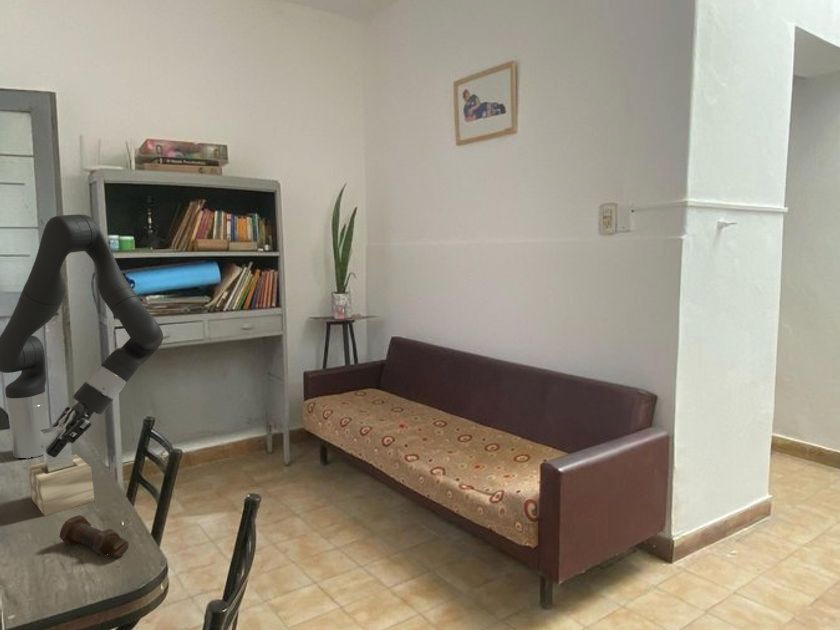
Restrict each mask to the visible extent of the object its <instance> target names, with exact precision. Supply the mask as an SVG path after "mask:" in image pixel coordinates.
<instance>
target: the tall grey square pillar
mask: <svg viewBox="0 0 840 630" xmlns="http://www.w3.org/2000/svg"><path fill="white" fill-rule="evenodd" d="M63 426H64V425H61V426H57V427H53V426H51V427H50V428H48V429H43V430H40V433H41V440H42V448H43V455H42V456H43V461H44V462H43V463H45V470H46V474H48V473H52V472H56V471H60V470H64V469H68V468H72V467H74V464H73V456H72V455H73V451H72V443H69V444H66V446H65V447H64V448H63V449H62V450H61V452H60V453H59V454H58V455H57V456H56V457H52V456H50V455H48V454H47V450H48V449H49V448H50V447H51V446H52V444H53V443H54V442H55V441H56V440H57V438H59V436H60V434H61V433H62V432H63V430H64V429H63Z"/></svg>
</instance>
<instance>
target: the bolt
mask: <svg viewBox="0 0 840 630" xmlns="http://www.w3.org/2000/svg"><path fill="white" fill-rule="evenodd" d="M59 538H60V540H61V541H62V542H63V543H65V544H66V545H67V546H71V547H72V546H73V545H75V544H77V543H81V544H83V545H87V546H88V547H91V548H92V549H93V551H94V552H95V553H96V554H97V555H99V556H101V557H105V555H106V556H108V555H112V556H114V557H116V558H117V557H121V556H123V555H124V554H125V553H126V552H127V550H128V548H129V541H128V540H127V539H126V538H123V537H121V536H120V535H119V533H118V532H117V531H116V530H115V529H112V528H107V529H104V530H101V529H98V528H95V527H92V524H91V523H90V522H89V521H88V520H87V519H86V517H84V515H81V514H79V515H76V516H72V517H70V518H69V519H67V520H66V521H64V523H63V525H62V526H61V529H60V530H59ZM107 554H108V555H107Z"/></svg>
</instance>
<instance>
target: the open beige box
mask: <svg viewBox="0 0 840 630" xmlns="http://www.w3.org/2000/svg"><path fill="white" fill-rule="evenodd" d="M72 456H73V464H74V467H72V468H68V469H64V470H60V471H56V472H52V473H48V474H46V470H45V463H44V462H41V463H36V464H35V463H34V464H32V465H28V476H29V485H30V492H31V500H32V501H33V502H34V504H35V505H36V506H37V508H38V509H39V510H40V511H41V513H42V515H43V516H44V517H46V516H49V515H53V514H56V513H59V512H62V511H65V510H69V509H72V508H75V507H78V506H79V507H80V506H81V505H86V504H89V503H92V502H95V492H94V491H95V490H94V484H93V483H94V481H93V471H92V467H91V466H90V465H89V464H88V463H87V462H86V461H85V460H83V459H82V458H81V457H80V456H79V455H78V454H72Z"/></svg>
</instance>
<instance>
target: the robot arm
mask: <svg viewBox="0 0 840 630" xmlns="http://www.w3.org/2000/svg"><path fill="white" fill-rule="evenodd" d="M78 252H79V253H80V252H85V253H86V254H87V255H88V256H89V257H90V259H91V260H92V261H93V264H94V265H95V268H96V275H97V277H96V279H97V280H96V281H97V287H98V288H97V289H98V292H99V294H100V296H101V298H102V301H104V303H105V304H106V306H107V307H108V309H109V310H110V312H111V313H112V315H114V317H115V318H116V319H118V320H119V322H120V323H121V325H122V327H123V328H124V330H125V332H126V333H127V335H128V337H129V339H127V341H126V342H125V343H124V344H123V345H122V346H121V347H119V348H117V349H115V350H113V351H112V352H111V353H110V355H108V357H106V359H105V360H104V362H102V363H101V365H100V366H98V368H97V369H96V370H94V371H93V372H92V373H91V374H90V375H89V376H88V377H87V379H86V381H84V382H83V384H82V385H81V386H79V388H78V389H77V391H76V392H75V393H74V394H73V396H72V398H73V400H75V401H77V403H76V404H75V405H73V406H72V407H70V406H66V407H65V409H63V411H62V413H61V414H60V415H59V417H58V418H57V420H56V421H55V423H54V424H53V425H52V427H57V426H61V425H64V426H63V429H64V430H63V432H62V433H61V434H60V436H59V438H57V440H56V441H55V442H54V443H53V444H52V446H51V447H50V448H49V449H48V450H47V454H48V455H50V456H52V457H56V456H57V455H58V454H59V453H60V452H61V450H62V449H63V448H64V447H65V446H66V444H69V443H71V444H73V443H75V442H76V441H78V439H79V438H80V437H81V436H82V435H83V434H84V433H85V432H86V431H87V430H88V429H89V428H90V427H92V425H93V423H92V422H91V421H90V419H91V418H92V415H93V414H94V413H96V414H98V415H102V414H104V412H105V411H106V410H107V408H108V407H109V406H110V405H111V404H112V402H114V400H115V399H116V397H118V395H119V394H120V393H121V391H122V390H123V389H124V387H125V385H126V383H128V381H129V380H130V379H131V378H132V377H133V375H134V374H135V373H136V372H137V370H138V369H139V368H140V367H141V366H142V365H143V364H144V363H145V362H146V361H147V360H149V359H150V357H151V356H152V355H153V354H154V353H155V352H156V351H157V350H158V349H159V348H160V346H161V345H162V344H163V343H162V342H163V340H164V334H163V331H162V328H161V326H160V325H159V323H158V322H157V320H156V319H155V318H154V316H153V315H152V314H151V312H150V311H149V310H148V309H147V308H146V306H144V304H143V302H142V301H141V299H140V297H139V296H138V294H137V293H136V292H135V290H134V289H133V287H132V286H131V284H130V283H129V282H128V280H127V279H126V277H125V275H124V274H123V272H122V271H121V268H120V266H119V265H118V263H117V261H116V258H115V256H114V254H113V252H112V249H111V248H110V246H109V244H108V242H107V240H106V237H105V235H104V234H103V231H102V230H101V228H100V226H99V224H98V223H97V222H96V220H94V218H92V217H91V216H89V215H87V214H62V215H55V216H53V217H51V218H50V219H49V220H48V221H47V222H46V224H45V226H44V229H43V231H42V235H41V238H40V242H39V246H38V249H37V253H36V257H35V260H34V262H33V265H32V267H31V271H30V273H29V276H28V278H27V279H26V282H25V284H24V286H23V288H22V291H21V292H20V296H19V297H18V301H17V303H16V306H15V307H14V310H13V313H12V314H11V317H10V318H9V320H8V322H7V324H6V326H5V328H4V329H3V331H2V332H1V334H0V373H6V374H9V373H12V374H13V373H16V372H21V373H20V374H19V375H18V377H17V378H16V379H15V380H14V381H12V382H10V383H9V384H7V385H6V386H5V390H4V392H5V399H6V400H5V402H6V408H7V414H8V422H9V423H8V424H9V431H10V440H11V448H12V455H13V456H14V457H15V458H14V457H13V458H14V459H18V458H26V459H31V457H33V458H37V457H40V456H44V455H43V448H42V440H41V433H40V430H43V429H48V428H51V427H50V420H49V418H50V417H49V411H48V409H49V408H48V402H47V395H46V394H47V393H46V384H47V383H46V382H47V372H46V371H47V370H46V369H47V367H46V353H45V348H44V346H43V345H44V344H43V343H42V340H41V339H40V338H39V337H37V336H36V335H33V334H35V333H36V332H38V331H39V330H40V329H41V328H42V327H44V326H45V325H47V323H49V322H50V321H51V320H52V319H53V318H54V317H55V316H56V315H57V313H58V312H59V309H60V308H61V306H62V303H63V301H64V299H65V297H66V292H67V291H66V290H67V288H66V284H65V281H64V278H63V276H62V273H61V269H62V267H63V265H64V262H65V260H66V258H67V256H68V255H69V254H71V253H78Z"/></svg>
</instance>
